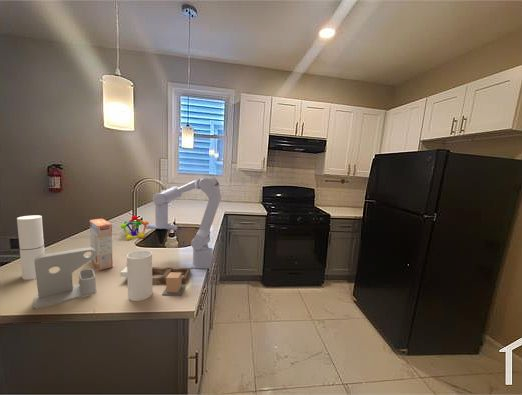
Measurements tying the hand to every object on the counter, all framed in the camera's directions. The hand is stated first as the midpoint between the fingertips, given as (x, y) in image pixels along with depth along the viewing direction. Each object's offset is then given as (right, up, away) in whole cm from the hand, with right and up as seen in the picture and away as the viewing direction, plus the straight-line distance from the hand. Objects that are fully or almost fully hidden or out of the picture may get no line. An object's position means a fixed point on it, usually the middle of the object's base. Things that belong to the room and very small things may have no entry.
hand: (161, 243), depth 116 cm
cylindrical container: (-45, -10, -19) cm, 50 cm away
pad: (+15, -14, -25) cm, 32 cm away
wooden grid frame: (+9, -12, -15) cm, 21 cm away
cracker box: (-26, -9, -6) cm, 28 cm away
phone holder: (-21, -13, -31) cm, 40 cm away
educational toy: (-33, -3, +34) cm, 48 cm away
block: (+15, -13, -25) cm, 32 cm away
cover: (-4, -9, -17) cm, 19 cm away
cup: (+4, -14, -29) cm, 32 cm away
